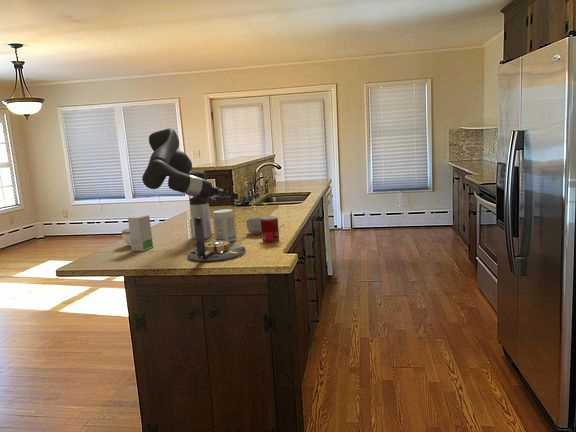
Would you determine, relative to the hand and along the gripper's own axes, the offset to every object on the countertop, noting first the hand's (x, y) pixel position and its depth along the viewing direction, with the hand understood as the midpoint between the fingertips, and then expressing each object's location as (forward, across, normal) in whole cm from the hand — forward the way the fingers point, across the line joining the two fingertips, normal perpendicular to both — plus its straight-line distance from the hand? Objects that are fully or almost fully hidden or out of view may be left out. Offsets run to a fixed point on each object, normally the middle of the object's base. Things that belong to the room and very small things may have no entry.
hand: (231, 198), depth 182 cm
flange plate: (+8, +16, +21) cm, 27 cm away
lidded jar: (-6, +68, +18) cm, 71 cm away
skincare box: (-7, +56, +21) cm, 60 cm away
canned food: (+35, +15, +10) cm, 39 cm away
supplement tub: (+23, +34, +12) cm, 43 cm away
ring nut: (+3, +13, +21) cm, 25 cm away
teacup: (+42, +32, +4) cm, 53 cm away
